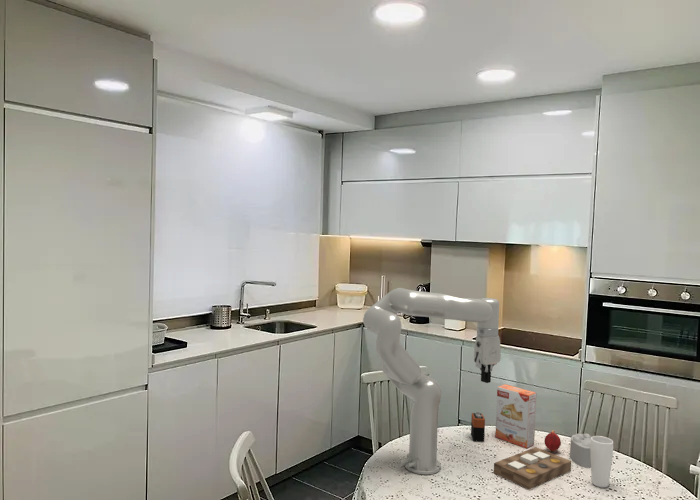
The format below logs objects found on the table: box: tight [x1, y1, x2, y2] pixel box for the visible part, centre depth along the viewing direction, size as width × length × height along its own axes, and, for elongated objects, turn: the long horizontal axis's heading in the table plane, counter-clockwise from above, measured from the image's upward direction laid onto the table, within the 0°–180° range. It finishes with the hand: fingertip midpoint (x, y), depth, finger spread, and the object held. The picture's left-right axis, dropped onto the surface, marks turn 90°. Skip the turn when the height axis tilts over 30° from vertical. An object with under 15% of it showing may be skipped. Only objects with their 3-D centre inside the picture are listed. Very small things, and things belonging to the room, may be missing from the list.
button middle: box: [520, 454, 538, 465], centre depth 187 cm, size 4×4×2 cm
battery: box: [470, 411, 486, 443], centre depth 214 cm, size 4×7×10 cm, turn 175°
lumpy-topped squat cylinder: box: [569, 433, 592, 469], centre depth 196 cm, size 10×13×9 cm
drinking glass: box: [590, 435, 614, 488], centre depth 178 cm, size 7×7×15 cm
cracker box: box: [495, 383, 537, 449], centre depth 211 cm, size 14×6×21 cm, turn 42°
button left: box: [508, 461, 526, 470], centre depth 183 cm, size 4×4×2 cm
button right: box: [532, 451, 550, 460], centre depth 191 cm, size 4×4×2 cm
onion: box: [543, 430, 562, 453], centre depth 203 cm, size 6×6×8 cm
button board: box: [493, 446, 572, 491], centre depth 186 cm, size 24×14×4 cm, turn 127°
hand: (485, 381), depth 198 cm, fingers closed
